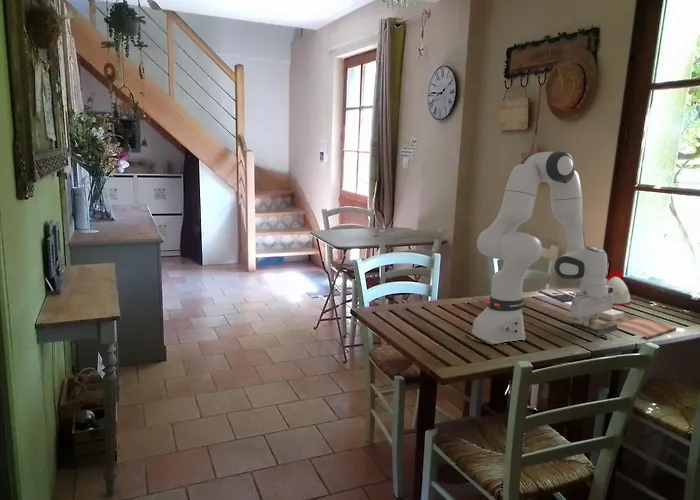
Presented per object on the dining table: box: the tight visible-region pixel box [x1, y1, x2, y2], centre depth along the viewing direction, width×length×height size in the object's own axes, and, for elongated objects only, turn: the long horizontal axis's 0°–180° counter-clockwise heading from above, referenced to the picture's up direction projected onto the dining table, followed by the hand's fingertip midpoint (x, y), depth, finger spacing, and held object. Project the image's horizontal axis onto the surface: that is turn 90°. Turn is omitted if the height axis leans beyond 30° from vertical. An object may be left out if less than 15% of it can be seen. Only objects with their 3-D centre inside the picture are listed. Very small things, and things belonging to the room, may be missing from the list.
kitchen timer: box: [606, 268, 631, 306], centre depth 230 cm, size 14×14×15 cm
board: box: [589, 312, 677, 340], centre depth 204 cm, size 18×28×1 cm, turn 29°
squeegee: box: [573, 317, 618, 338], centre depth 199 cm, size 14×10×4 cm
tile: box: [599, 308, 625, 321], centre depth 209 cm, size 7×7×2 cm
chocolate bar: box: [538, 288, 575, 303], centre depth 243 cm, size 9×1×18 cm
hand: (590, 324), depth 199 cm, fingers closed on squeegee, 2 cm apart
